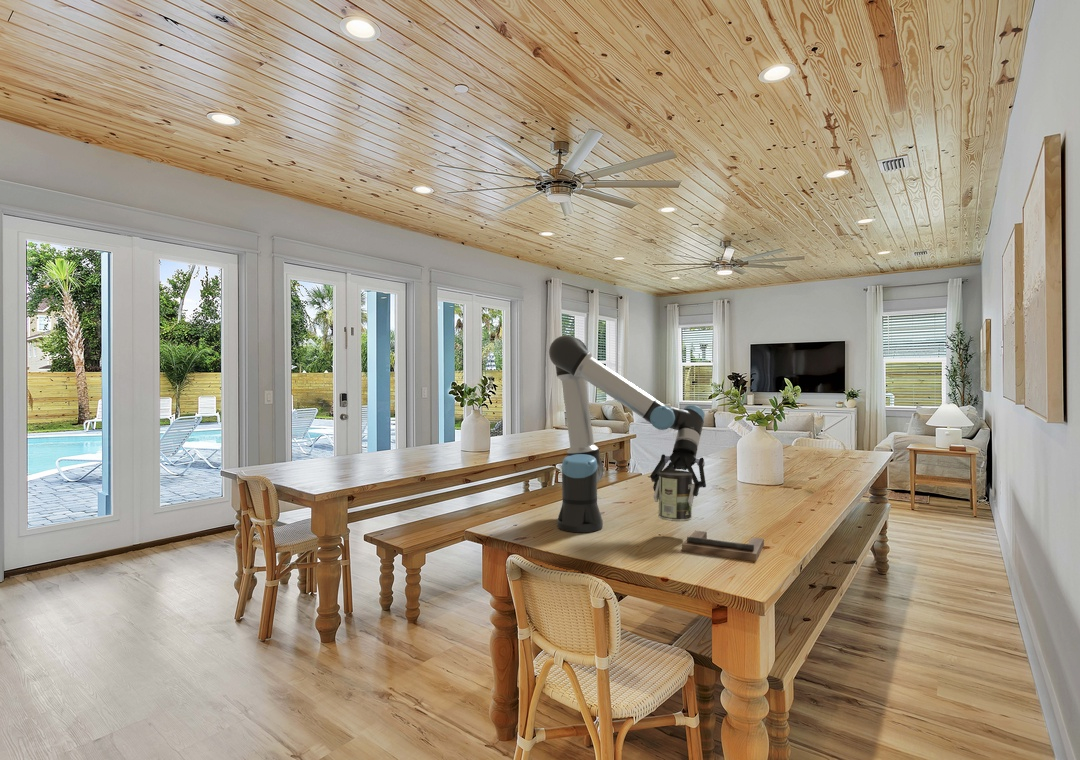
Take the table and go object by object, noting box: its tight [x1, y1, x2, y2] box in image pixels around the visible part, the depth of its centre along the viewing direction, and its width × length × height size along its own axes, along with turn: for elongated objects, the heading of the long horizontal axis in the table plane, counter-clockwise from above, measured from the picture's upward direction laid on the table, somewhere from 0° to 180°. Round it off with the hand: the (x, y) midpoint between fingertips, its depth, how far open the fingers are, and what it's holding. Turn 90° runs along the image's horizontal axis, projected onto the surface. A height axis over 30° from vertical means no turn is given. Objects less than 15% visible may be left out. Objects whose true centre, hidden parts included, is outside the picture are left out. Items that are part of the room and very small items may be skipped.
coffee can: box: [657, 469, 693, 522], centre depth 177 cm, size 10×10×14 cm
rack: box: [681, 530, 765, 562], centre depth 164 cm, size 20×16×4 cm
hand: (672, 501), depth 174 cm, fingers closed on coffee can, 10 cm apart
